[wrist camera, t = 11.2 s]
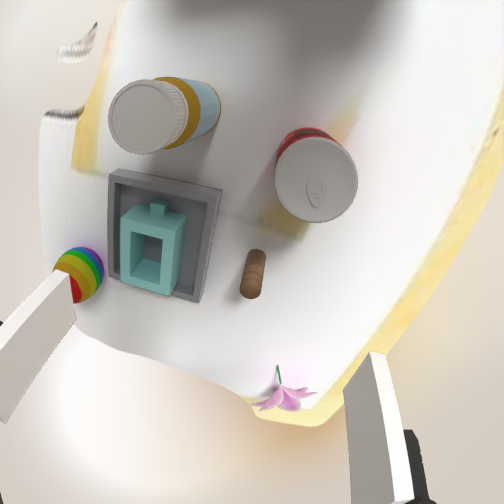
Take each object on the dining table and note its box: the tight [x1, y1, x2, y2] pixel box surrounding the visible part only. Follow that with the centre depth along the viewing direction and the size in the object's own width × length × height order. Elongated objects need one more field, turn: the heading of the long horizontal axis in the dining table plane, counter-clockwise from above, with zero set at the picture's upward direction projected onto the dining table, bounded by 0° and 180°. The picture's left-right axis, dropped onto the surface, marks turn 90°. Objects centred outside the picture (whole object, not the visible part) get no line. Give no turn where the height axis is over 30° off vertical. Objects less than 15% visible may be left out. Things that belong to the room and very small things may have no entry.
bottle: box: [108, 77, 221, 154], centre depth 28 cm, size 7×7×15 cm
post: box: [240, 249, 266, 299], centre depth 39 cm, size 2×2×8 cm
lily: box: [249, 365, 317, 411], centre depth 52 cm, size 12×12×10 cm
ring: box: [120, 198, 188, 296], centre depth 40 cm, size 8×12×5 cm, turn 167°
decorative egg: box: [53, 247, 103, 304], centre depth 43 cm, size 8×8×10 cm
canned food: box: [274, 128, 358, 223], centre depth 31 cm, size 8×8×11 cm
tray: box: [108, 169, 222, 303], centre depth 42 cm, size 16×15×3 cm
